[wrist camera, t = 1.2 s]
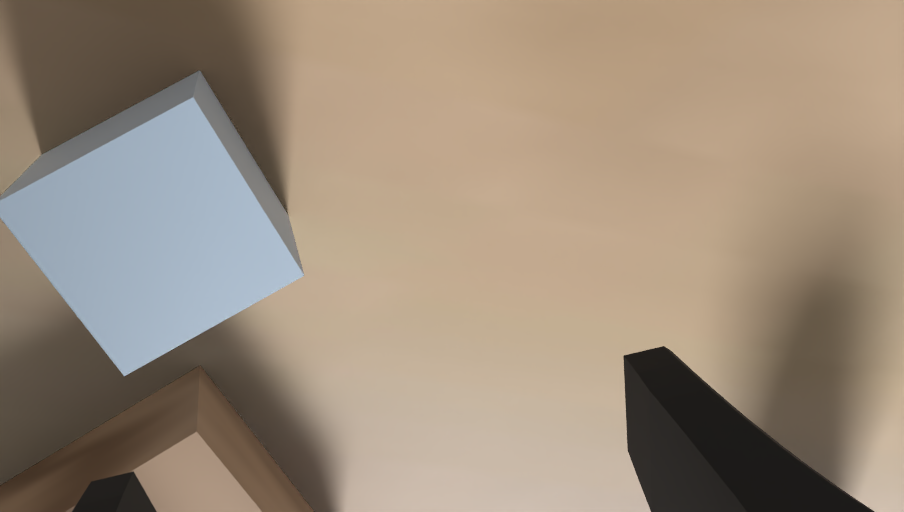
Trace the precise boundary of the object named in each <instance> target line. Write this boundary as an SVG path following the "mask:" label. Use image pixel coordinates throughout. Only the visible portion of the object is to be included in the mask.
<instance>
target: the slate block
mask: <svg viewBox="0 0 904 512" xmlns="http://www.w3.org/2000/svg"><path fill="white" fill-rule="evenodd" d="M0 218H1V219H2V221H3V222H4V223H5V224H6V226H7V227H8V228H9V230H10V231H11V232H12V233H13V235H14V236H15V237H16V238H17V240H18V241H19V242H20V244H21V245H22V246H23V247H24V249H25V250H26V251H27V253H28V254H29V255H30V256H31V258H32V259H33V260H34V261H35V263H36V264H37V265H38V267H39V268H40V269H41V270H42V272H43V273H44V274H45V276H46V277H47V278H48V279H49V281H50V282H51V283H52V285H53V286H54V287H55V288H56V290H57V291H58V292H59V293H60V295H61V296H62V297H63V299H64V300H65V301H66V302H67V304H68V305H69V306H70V308H71V309H72V310H73V311H74V313H75V314H76V315H77V317H78V318H79V319H80V320H81V322H82V323H83V324H84V325H85V327H86V328H87V329H88V331H89V332H90V333H91V334H92V336H93V337H94V338H95V340H96V341H97V342H98V343H99V345H100V346H101V347H102V349H103V350H104V351H105V352H106V354H107V355H108V356H109V357H110V359H111V360H112V361H113V363H114V364H115V365H116V366H117V368H118V369H119V370H120V372H121V373H122V374H123V375H124V376H126V375H128V374H129V373H131V372H133V371H135V370H137V369H138V368H140V367H142V366H144V365H145V364H147V363H149V362H151V361H153V360H154V359H156V358H158V357H160V356H161V355H163V354H165V353H167V352H169V351H170V350H172V349H174V348H176V347H178V346H179V345H181V344H183V343H185V342H186V341H188V340H190V339H192V338H194V337H195V336H197V335H199V334H201V333H203V332H204V331H206V330H208V329H210V328H211V327H213V326H215V325H217V324H219V323H220V322H222V321H224V320H226V319H228V318H229V317H231V316H233V315H235V314H236V313H238V312H240V311H242V310H244V309H245V308H247V307H249V306H251V305H253V304H254V303H256V302H258V301H260V300H261V299H263V298H265V297H267V296H269V295H270V294H272V293H274V292H276V291H278V290H279V289H281V288H283V287H285V286H286V285H288V284H290V283H292V282H294V281H295V280H297V279H299V278H301V277H303V276H304V273H303V269H302V265H301V261H300V258H299V254H298V250H297V246H296V242H295V239H294V235H293V231H292V227H291V224H290V220H289V216H288V214H287V212H286V211H285V209H284V207H283V206H282V204H281V203H280V201H279V199H278V198H277V196H276V194H275V193H274V191H273V189H272V188H271V186H270V185H269V183H268V181H267V180H266V178H265V176H264V175H263V173H262V171H261V170H260V168H259V167H258V165H257V163H256V162H255V160H254V158H253V157H252V155H251V153H250V152H249V150H248V148H247V147H246V145H245V144H244V142H243V140H242V139H241V137H240V135H239V134H238V132H237V130H236V129H235V127H234V126H233V124H232V122H231V121H230V119H229V117H228V116H227V114H226V112H225V111H224V109H223V107H222V106H221V104H220V103H219V101H218V99H217V98H216V96H215V94H214V93H213V91H212V89H211V88H210V86H209V85H208V83H207V81H206V80H205V78H204V76H203V75H202V73H201V71H200V70H199V71H197V72H195V73H193V74H192V75H190V76H188V77H186V78H184V79H182V80H180V81H179V82H177V83H175V84H173V85H171V86H169V87H167V88H165V89H164V90H162V91H160V92H158V93H156V94H154V95H152V96H150V97H149V98H147V99H145V100H143V101H141V102H139V103H137V104H135V105H134V106H132V107H130V108H128V109H126V110H124V111H122V112H120V113H119V114H117V115H115V116H113V117H111V118H109V119H107V120H106V121H104V122H102V123H100V124H98V125H96V126H94V127H92V128H91V129H89V130H87V131H85V132H83V133H81V134H79V135H77V136H76V137H74V138H72V139H70V140H68V141H66V142H64V143H62V144H61V145H59V146H57V147H55V148H53V149H51V150H49V151H48V152H46V153H44V154H42V155H41V156H40V157H39V158H38V159H37V160H36V161H35V162H34V163H33V164H32V165H31V166H30V167H29V168H28V169H27V170H26V171H25V172H24V173H23V174H22V175H21V176H20V177H19V178H18V179H17V180H16V181H15V182H14V183H13V184H12V185H11V186H10V187H9V188H8V189H7V190H6V191H5V192H4V193H3V194H2V195H1V196H0Z"/></svg>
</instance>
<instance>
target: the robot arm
mask: <svg viewBox="0 0 904 512" xmlns="http://www.w3.org/2000/svg"><path fill="white" fill-rule="evenodd" d="M624 376H625V398H626V420H627V443H628V452H629V455H630V457H631V460H632V463H633V466H634V468H635V471H636V474H637V476H638V479H639V482H640V484H641V487H642V489H643V492H644V494H645V497H646V500H647V502H648V505H649V507H650V510H651V512H874V511H873V510H871V509H870V508H868V507H867V506H865V505H864V504H862V503H861V502H859V501H858V500H856V499H855V498H853V497H852V496H850V495H849V494H847V493H846V492H844V491H843V490H841V489H840V488H839V487H837V486H836V485H834V484H833V483H832V482H830V481H829V480H827V479H826V478H825V477H823V476H822V475H820V474H819V473H818V472H816V471H815V470H813V469H812V468H811V467H809V466H808V465H807V464H805V463H804V462H803V461H801V460H800V459H799V458H797V457H796V456H795V455H793V454H792V453H791V452H789V451H788V450H787V449H785V448H784V447H783V446H782V445H780V444H779V443H778V442H777V441H775V440H774V439H773V438H772V437H770V436H769V435H768V434H766V433H765V432H764V431H763V430H761V429H760V428H759V427H758V426H756V425H755V424H754V423H753V422H751V421H750V420H749V419H748V418H747V417H745V416H744V415H743V414H742V413H741V412H739V411H738V410H737V409H736V408H735V407H733V406H732V405H731V404H730V403H729V402H728V401H726V400H725V399H724V398H723V397H722V396H721V395H719V394H718V393H717V392H716V391H715V390H714V389H712V388H711V387H710V386H709V385H708V384H707V383H706V382H705V381H703V380H702V379H701V378H700V377H699V376H698V375H697V374H696V373H695V372H693V371H692V370H691V369H690V368H689V367H688V366H687V365H686V364H685V363H684V362H682V361H681V360H680V359H679V358H678V357H677V356H676V355H675V354H674V353H673V352H672V351H670V350H669V349H667V348H666V347H664V346H663V347H659V348H654V349H650V350H646V351H642V352H637V353H633V354H629V355H625V356H624ZM72 512H157V511H156V510H155V508H154V506H153V504H152V503H151V501H150V499H149V497H148V496H147V494H146V492H145V490H144V489H143V487H142V485H141V483H140V482H139V480H138V478H137V476H136V474H135V473H134V471H133V472H129V473H125V474H121V475H116V476H112V477H108V478H104V479H99V480H95V481H91V482H90V484H89V485H88V487H87V488H86V490H85V492H84V493H83V495H82V496H81V498H80V499H79V501H78V503H77V504H76V506H75V507H74V509H73V511H72Z"/></svg>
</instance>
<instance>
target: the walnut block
mask: <svg viewBox="0 0 904 512" xmlns="http://www.w3.org/2000/svg"><path fill="white" fill-rule="evenodd" d="M133 471H134V473H135V474H136V476H137V478H138V480H139V482H140V483H141V485H142V487H143V489H144V490H145V492H146V494H147V496H148V497H149V499H150V501H151V503H152V504H153V506H154V508H155V510H156V511H157V512H314V511H313V510H312V508H311V507H310V506H309V504H308V503H307V502H306V501H305V499H304V498H303V497H302V495H301V494H300V493H299V492H298V490H297V489H296V488H295V486H294V485H293V484H292V483H291V481H290V480H289V479H288V477H287V476H286V475H285V474H284V472H283V471H282V470H281V468H280V467H279V466H278V465H277V463H276V462H275V461H274V459H273V458H272V457H271V456H270V454H269V453H268V452H267V450H266V449H265V448H264V447H263V445H262V444H261V443H260V442H259V440H258V439H257V438H256V436H255V435H254V434H253V433H252V431H251V430H250V429H249V427H248V426H247V425H246V424H245V422H244V421H243V420H242V418H241V417H240V416H239V415H238V413H237V412H236V411H235V409H234V408H233V407H232V406H231V404H230V403H229V402H228V400H227V399H226V398H225V397H224V395H223V394H222V393H221V391H220V390H219V389H218V388H217V386H216V385H215V384H214V382H213V381H212V380H211V379H210V377H209V376H208V375H207V373H206V372H205V371H204V370H203V368H202V367H201V366H198V367H196V368H195V369H193V370H192V371H190V372H188V373H187V374H185V375H183V376H182V377H180V378H178V379H177V380H175V381H173V382H172V383H170V384H168V385H167V386H165V387H163V388H162V389H160V390H158V391H157V392H155V393H153V394H152V395H150V396H148V397H147V398H145V399H143V400H142V401H140V402H138V403H137V404H135V405H133V406H132V407H130V408H128V409H127V410H125V411H123V412H122V413H120V414H118V415H117V416H115V417H113V418H112V419H110V420H108V421H107V422H105V423H103V424H102V425H100V426H98V427H97V428H95V429H93V430H92V431H90V432H88V433H87V434H85V435H83V436H82V437H80V438H78V439H77V440H75V441H74V442H72V443H70V444H69V445H67V446H65V447H64V448H62V449H60V450H59V451H57V452H55V453H54V454H52V455H50V456H49V457H47V458H45V459H44V460H42V461H40V462H39V463H37V464H35V465H34V466H32V467H30V468H29V469H27V470H25V471H24V472H22V473H20V474H19V475H17V476H15V477H14V478H12V479H10V480H9V481H7V482H5V483H4V484H2V485H0V512H72V511H73V509H74V507H75V506H76V504H77V503H78V501H79V499H80V498H81V496H82V495H83V493H84V492H85V490H86V488H87V487H88V485H89V484H90V482H91V481H95V480H99V479H104V478H108V477H112V476H116V475H121V474H125V473H129V472H133Z"/></svg>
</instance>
